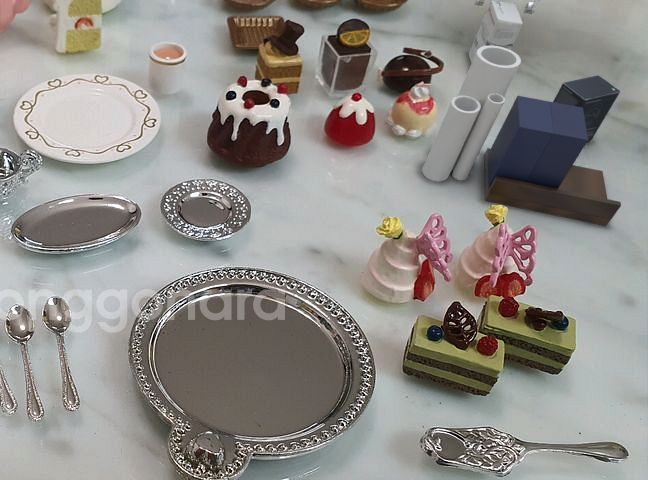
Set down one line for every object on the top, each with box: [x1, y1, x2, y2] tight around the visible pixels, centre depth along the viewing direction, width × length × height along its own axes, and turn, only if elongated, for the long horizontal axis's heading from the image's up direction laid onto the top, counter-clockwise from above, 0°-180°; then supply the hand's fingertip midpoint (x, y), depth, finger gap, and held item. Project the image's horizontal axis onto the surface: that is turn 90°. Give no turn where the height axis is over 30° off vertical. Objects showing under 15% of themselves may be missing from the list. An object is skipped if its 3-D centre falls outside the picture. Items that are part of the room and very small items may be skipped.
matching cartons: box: [488, 95, 589, 189], centre depth 123 cm, size 10×9×12 cm
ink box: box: [468, 0, 524, 65], centre depth 149 cm, size 9×5×12 cm, turn 170°
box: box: [552, 74, 621, 143], centre depth 134 cm, size 8×6×11 cm
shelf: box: [483, 147, 622, 227], centre depth 127 cm, size 19×13×4 cm
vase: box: [421, 45, 522, 183], centre depth 124 cm, size 11×7×20 cm, turn 146°
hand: (503, 8), depth 148 cm, fingers open, 8 cm apart
